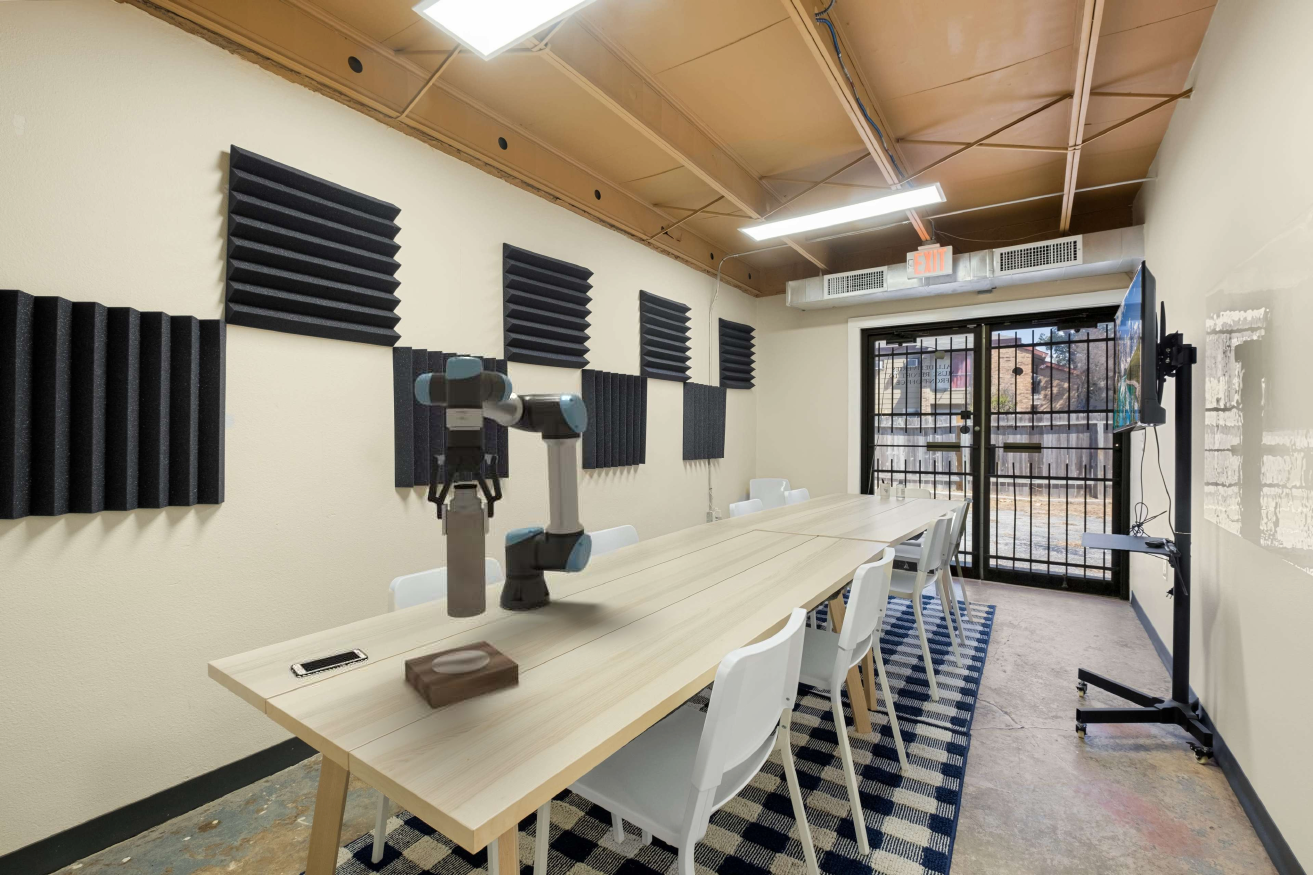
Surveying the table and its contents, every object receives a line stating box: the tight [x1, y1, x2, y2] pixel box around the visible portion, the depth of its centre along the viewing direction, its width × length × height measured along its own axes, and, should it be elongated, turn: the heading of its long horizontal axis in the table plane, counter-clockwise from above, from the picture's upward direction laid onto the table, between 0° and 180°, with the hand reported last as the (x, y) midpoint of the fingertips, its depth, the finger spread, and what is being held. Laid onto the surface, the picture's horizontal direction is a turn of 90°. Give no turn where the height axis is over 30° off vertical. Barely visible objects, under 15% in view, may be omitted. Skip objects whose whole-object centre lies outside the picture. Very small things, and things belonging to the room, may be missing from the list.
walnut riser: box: [404, 640, 519, 710], centre depth 125 cm, size 18×18×4 cm
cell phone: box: [290, 648, 369, 677], centre depth 135 cm, size 8×15×1 cm, turn 134°
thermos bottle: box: [446, 483, 487, 619], centre depth 126 cm, size 8×8×28 cm
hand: (465, 533), depth 126 cm, fingers closed on thermos bottle, 8 cm apart
